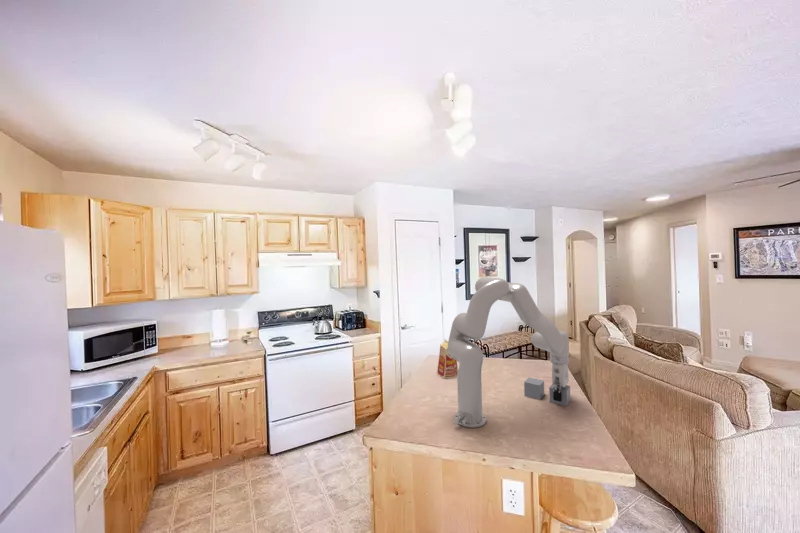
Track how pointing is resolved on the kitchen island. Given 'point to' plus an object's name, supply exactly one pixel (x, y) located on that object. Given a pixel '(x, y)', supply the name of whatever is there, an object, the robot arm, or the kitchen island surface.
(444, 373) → the milk carton
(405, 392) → the kitchen island surface
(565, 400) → the grey block
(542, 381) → the gray cube
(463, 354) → the robot arm
